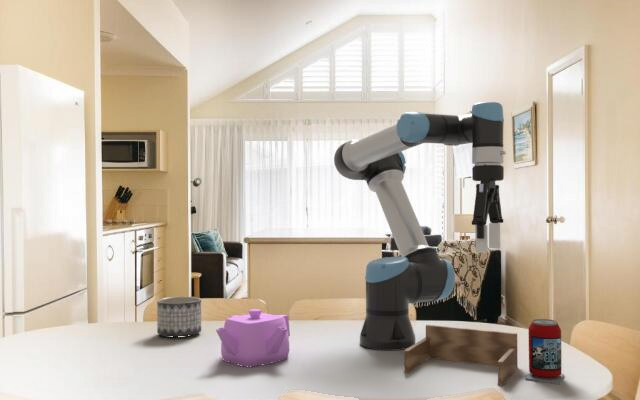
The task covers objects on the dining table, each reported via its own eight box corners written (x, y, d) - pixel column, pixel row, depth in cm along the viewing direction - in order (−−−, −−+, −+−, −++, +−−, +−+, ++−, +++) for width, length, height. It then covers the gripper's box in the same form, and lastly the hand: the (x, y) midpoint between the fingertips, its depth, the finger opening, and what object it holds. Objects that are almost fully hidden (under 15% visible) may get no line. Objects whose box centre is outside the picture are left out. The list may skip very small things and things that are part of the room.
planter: (210, 333, 183) (210, 298, 183) (179, 341, 173) (179, 304, 173) (179, 329, 190) (179, 295, 190) (148, 336, 179) (147, 301, 179)
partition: (404, 372, 140) (404, 337, 140) (427, 356, 154) (426, 324, 154) (502, 385, 130) (502, 347, 130) (517, 367, 144) (517, 333, 144)
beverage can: (537, 380, 132) (536, 325, 132) (524, 371, 138) (523, 318, 138) (567, 379, 132) (566, 324, 132) (553, 370, 139) (552, 317, 139)
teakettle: (290, 350, 162) (290, 303, 162) (287, 368, 145) (287, 315, 145) (225, 351, 162) (225, 304, 162) (215, 369, 145) (215, 316, 145)
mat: (525, 379, 134) (525, 378, 134) (531, 371, 140) (531, 370, 140) (559, 384, 130) (559, 382, 130) (564, 375, 137) (564, 374, 137)
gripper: (491, 161, 140) (492, 254, 140) (513, 166, 162) (513, 247, 162) (459, 163, 144) (459, 253, 144) (484, 167, 166) (485, 246, 166)
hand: (488, 250), depth 153 cm, fingers open, 13 cm apart
